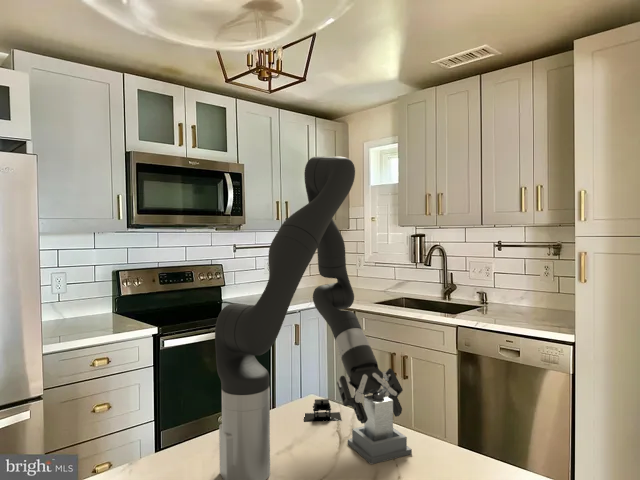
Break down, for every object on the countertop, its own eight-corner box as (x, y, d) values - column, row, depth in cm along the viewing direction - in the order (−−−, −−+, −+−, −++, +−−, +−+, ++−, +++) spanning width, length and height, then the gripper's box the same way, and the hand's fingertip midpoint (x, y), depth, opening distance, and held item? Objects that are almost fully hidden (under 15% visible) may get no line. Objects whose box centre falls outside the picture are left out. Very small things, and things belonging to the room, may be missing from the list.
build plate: (297, 425, 114) (297, 407, 114) (297, 413, 121) (297, 396, 121) (347, 424, 114) (347, 405, 114) (344, 412, 122) (344, 395, 122)
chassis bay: (371, 464, 94) (371, 447, 94) (347, 443, 103) (347, 428, 103) (411, 453, 98) (411, 437, 98) (385, 435, 107) (385, 420, 107)
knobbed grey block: (375, 450, 97) (374, 398, 97) (364, 441, 102) (364, 391, 101) (393, 446, 99) (392, 395, 99) (381, 437, 103) (381, 389, 103)
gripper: (333, 347, 104) (359, 416, 93) (387, 340, 110) (416, 404, 99) (323, 364, 109) (347, 432, 98) (375, 357, 115) (402, 420, 104)
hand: (382, 418), depth 99 cm, fingers open, 8 cm apart
